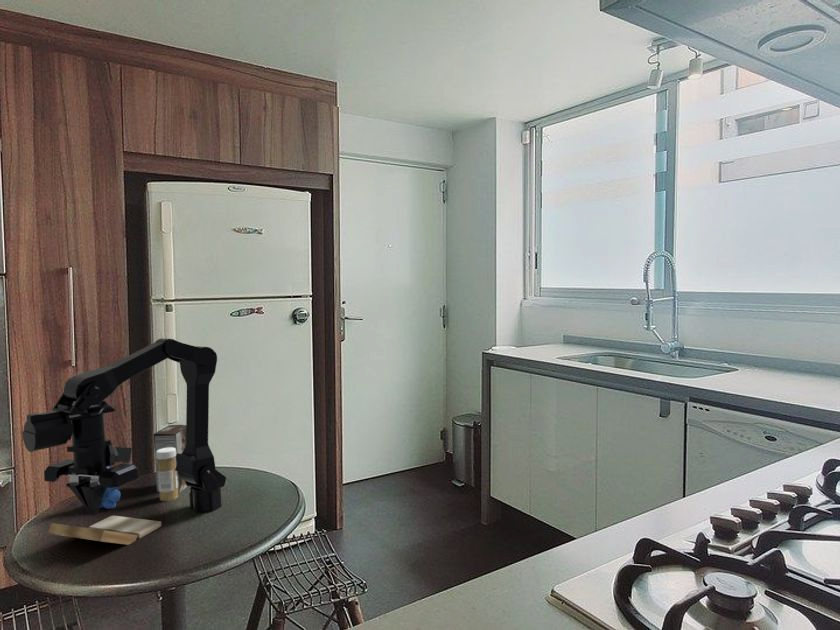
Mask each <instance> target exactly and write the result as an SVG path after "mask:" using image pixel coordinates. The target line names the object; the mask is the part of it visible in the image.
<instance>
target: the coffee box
mask: <svg viewBox="0 0 840 630" xmlns="http://www.w3.org/2000/svg"><path fill="white" fill-rule="evenodd" d="M152 436H153V446H154V447H153V448H154V461H155V476H156V477H155V479H156V480H155V481H156V491H157V492H159V484H158V463H157V458H156V451H157V450H159V449H162V448H168V447H173V448H175V449H176V454H177V453H182V452H183V450H184V448H185V446H186V424H169V425H167V426H166V427H163V428H161V429H160V430H158V431H156V432H154V433H153V435H152ZM176 464H177V462H176ZM177 481H178V494H180V493H182V491H184V490H185V489H186V488H188V486H186V484H185V482H184V480H182V479H181V478H180V477H179V476H178V471H177Z"/></svg>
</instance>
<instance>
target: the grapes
mask: <svg viewBox="0 0 840 630" xmlns="http://www.w3.org/2000/svg"><path fill="white" fill-rule="evenodd" d="M107 468H111V466H107ZM121 494H122V493H121V492H120V490H119V489H118V487H115V488H108V487H107V488H106V491H105V493H104V496H103V499H102V502H101V506H100V508H104V509H106V510H107V509H113V508H116V506H117V502H119V501H120V499H121Z"/></svg>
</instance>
